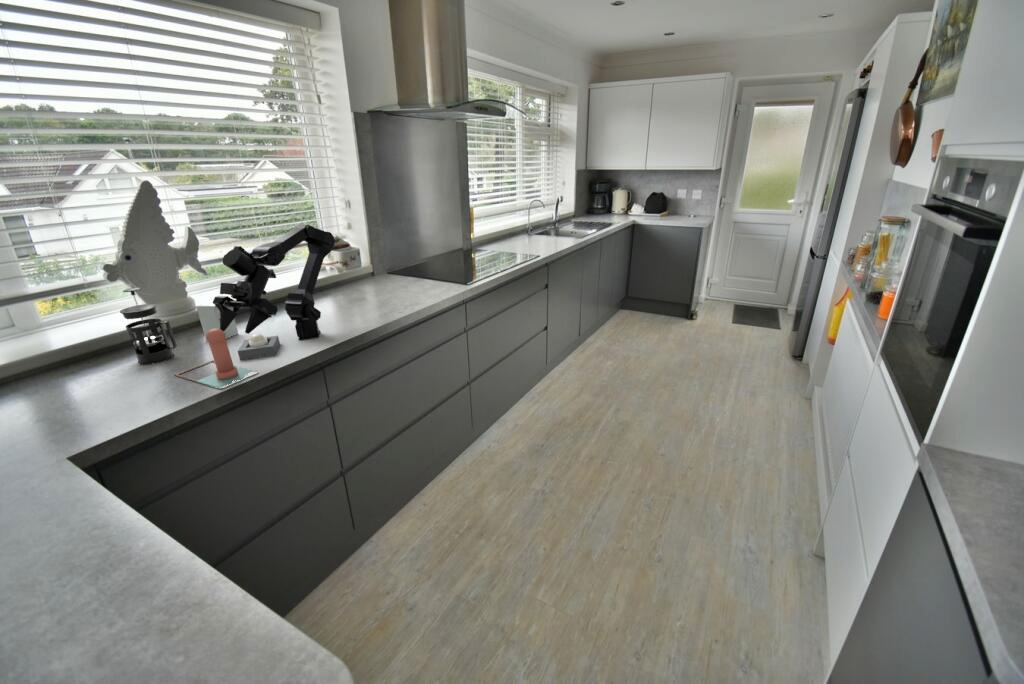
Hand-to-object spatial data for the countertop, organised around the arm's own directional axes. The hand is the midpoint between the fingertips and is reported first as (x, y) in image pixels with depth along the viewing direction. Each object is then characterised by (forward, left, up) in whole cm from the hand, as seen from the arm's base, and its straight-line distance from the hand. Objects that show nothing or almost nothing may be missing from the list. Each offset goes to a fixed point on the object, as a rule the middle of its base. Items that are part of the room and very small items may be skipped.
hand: (234, 332), depth 130 cm
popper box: (-2, -14, -12) cm, 18 cm away
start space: (+11, -3, -12) cm, 17 cm away
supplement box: (+14, -35, -12) cm, 39 cm away
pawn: (+3, +5, -11) cm, 13 cm away
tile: (+3, +5, -12) cm, 13 cm away
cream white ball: (-2, -14, -11) cm, 17 cm away
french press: (+29, -21, -12) cm, 38 cm away
